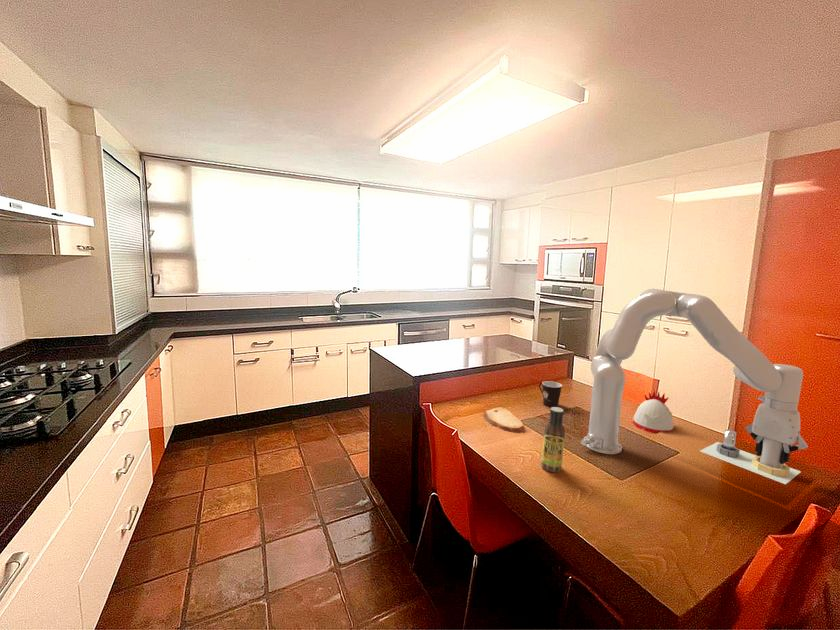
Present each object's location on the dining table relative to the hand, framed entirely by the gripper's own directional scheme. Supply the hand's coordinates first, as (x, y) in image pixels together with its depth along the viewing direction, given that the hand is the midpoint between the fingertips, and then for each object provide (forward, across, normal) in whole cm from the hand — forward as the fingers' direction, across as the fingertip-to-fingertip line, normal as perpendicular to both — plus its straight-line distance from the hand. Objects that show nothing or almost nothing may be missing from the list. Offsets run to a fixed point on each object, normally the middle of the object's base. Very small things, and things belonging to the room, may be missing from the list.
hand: (771, 458), depth 115 cm
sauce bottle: (+5, -35, -60) cm, 70 cm away
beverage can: (+3, 0, 0) cm, 3 cm away
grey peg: (+4, -11, 0) cm, 12 cm away
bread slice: (+6, -69, -49) cm, 85 cm away
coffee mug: (+5, -73, -16) cm, 75 cm away
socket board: (+5, -5, 0) cm, 7 cm away
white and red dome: (+5, -36, +2) cm, 37 cm away
